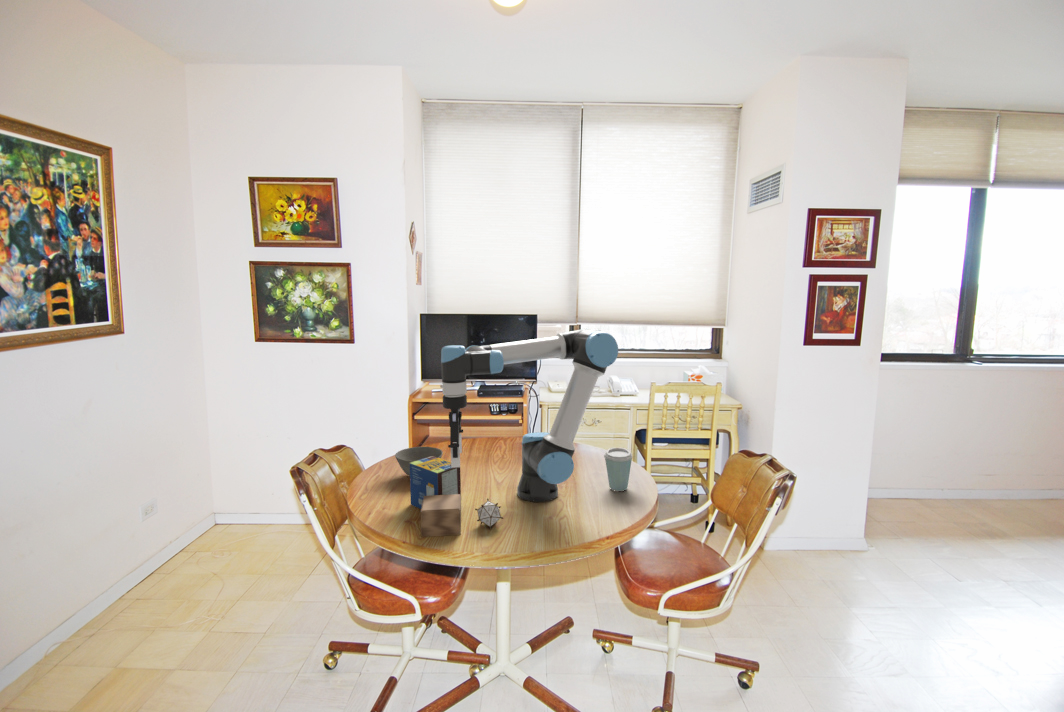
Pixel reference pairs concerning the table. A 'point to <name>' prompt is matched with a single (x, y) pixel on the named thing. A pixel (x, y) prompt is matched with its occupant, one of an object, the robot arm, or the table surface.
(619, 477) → the disposable coffee cup
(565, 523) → the table surface
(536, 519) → the table surface
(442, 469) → the protein box
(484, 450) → the table surface
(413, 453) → the bowl
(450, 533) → the walnut block
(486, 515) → the game die
